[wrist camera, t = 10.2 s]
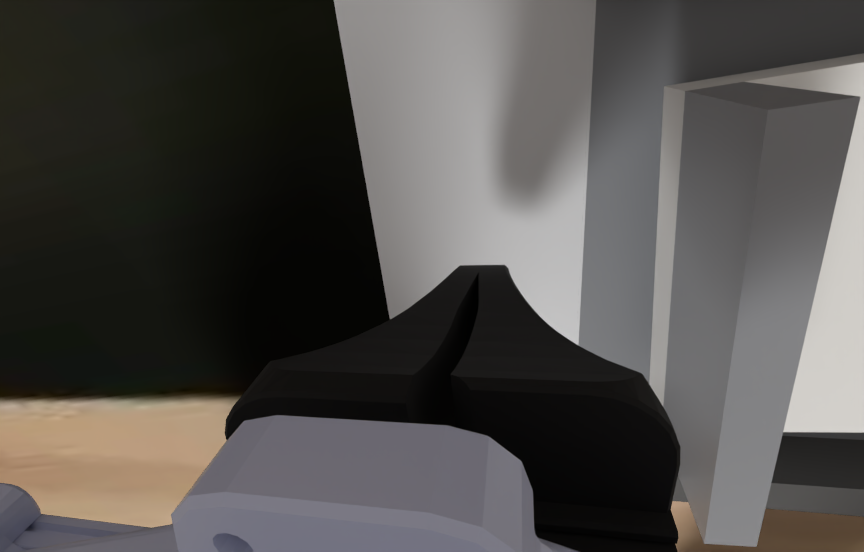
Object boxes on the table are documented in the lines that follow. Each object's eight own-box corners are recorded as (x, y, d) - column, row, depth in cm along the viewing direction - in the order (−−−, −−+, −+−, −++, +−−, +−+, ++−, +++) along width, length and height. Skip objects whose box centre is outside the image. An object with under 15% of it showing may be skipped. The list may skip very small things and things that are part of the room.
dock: (997, 424, 16) (1145, 539, 12) (409, 398, 20) (385, 477, 17) (1379, -183, 9) (2044, -364, 5) (340, -13, 13) (269, -39, 9)
